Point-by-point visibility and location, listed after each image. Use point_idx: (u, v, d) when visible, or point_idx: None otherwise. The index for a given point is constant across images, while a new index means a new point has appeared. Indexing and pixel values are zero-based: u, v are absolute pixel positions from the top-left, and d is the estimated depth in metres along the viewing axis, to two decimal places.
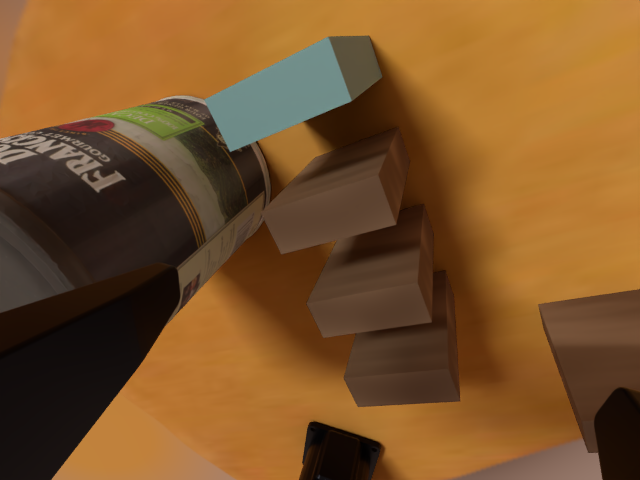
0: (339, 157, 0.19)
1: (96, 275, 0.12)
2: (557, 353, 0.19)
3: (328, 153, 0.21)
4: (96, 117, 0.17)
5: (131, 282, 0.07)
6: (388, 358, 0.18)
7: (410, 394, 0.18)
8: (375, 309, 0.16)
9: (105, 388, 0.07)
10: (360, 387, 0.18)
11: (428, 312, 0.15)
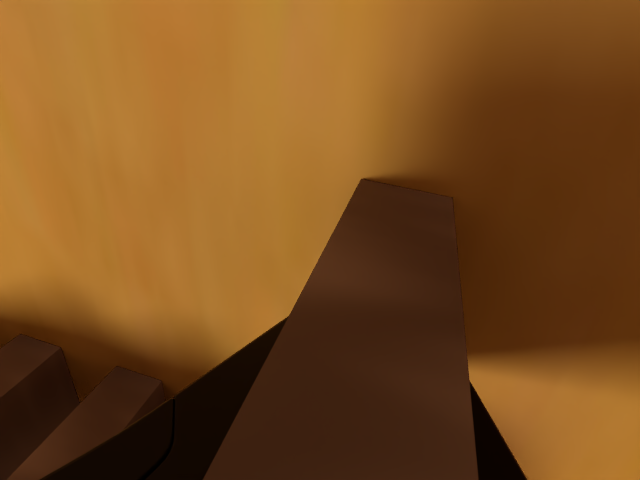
0: None
1: None
2: None
3: None
4: None
5: None
6: None
7: None
8: None
9: None
10: None
11: None
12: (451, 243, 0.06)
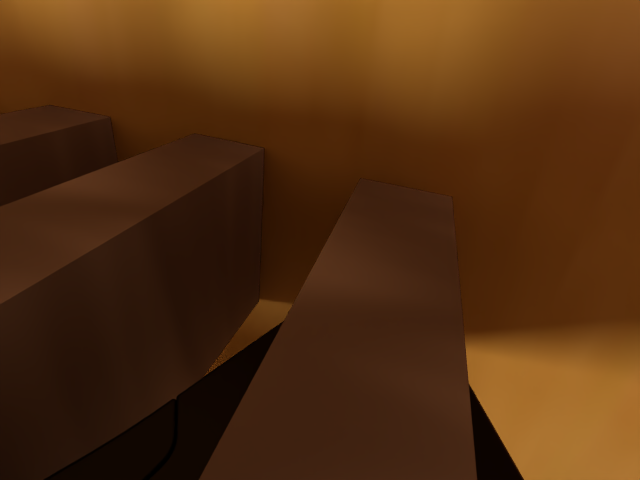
0: None
1: None
2: None
3: None
4: None
5: None
6: None
7: None
8: None
9: None
10: None
11: None
12: (450, 242, 0.06)
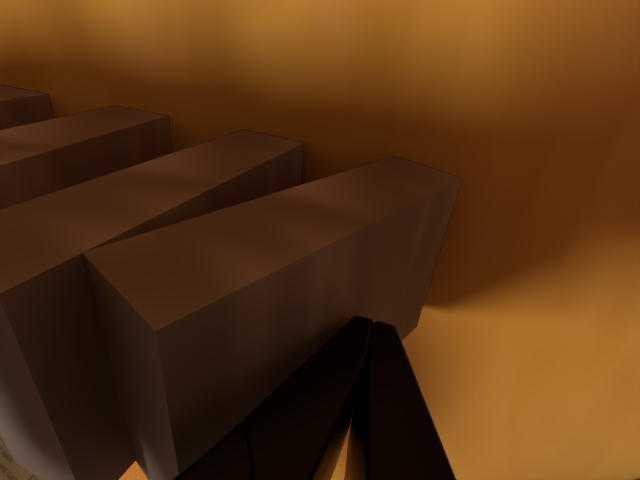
0: None
1: None
2: None
3: None
4: None
5: (354, 345, 0.06)
6: None
7: (15, 391, 0.05)
8: None
9: (333, 467, 0.06)
10: (29, 459, 0.07)
11: None
12: (417, 197, 0.08)
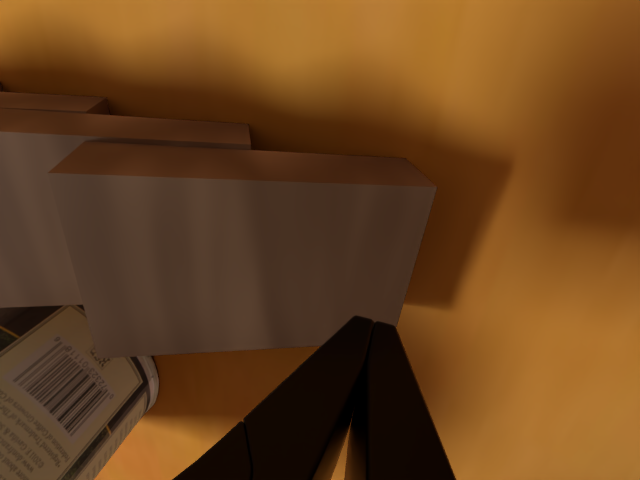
0: None
1: None
2: None
3: None
4: None
5: (354, 345, 0.06)
6: None
7: None
8: None
9: (333, 467, 0.06)
10: None
11: None
12: (348, 182, 0.08)
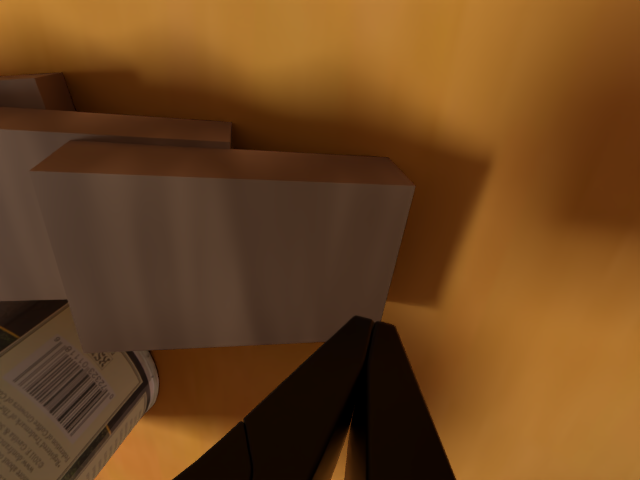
0: None
1: None
2: None
3: None
4: None
5: (354, 345, 0.06)
6: None
7: None
8: None
9: (333, 467, 0.06)
10: None
11: None
12: (326, 180, 0.08)
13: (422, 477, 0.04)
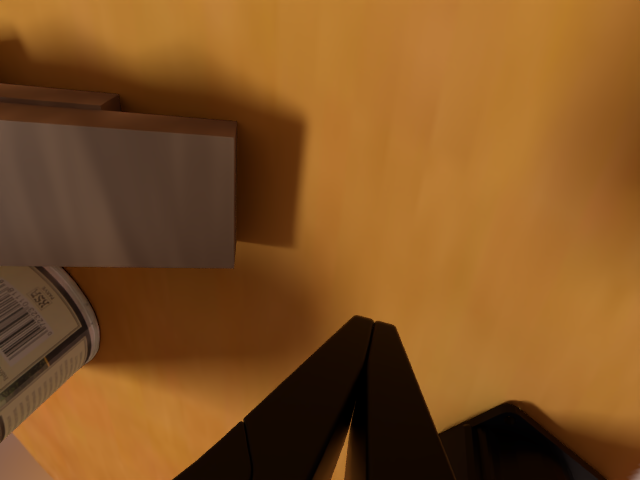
0: None
1: None
2: None
3: None
4: None
5: (354, 345, 0.06)
6: None
7: None
8: None
9: (333, 467, 0.06)
10: None
11: None
12: (162, 131, 0.11)
13: (422, 477, 0.04)
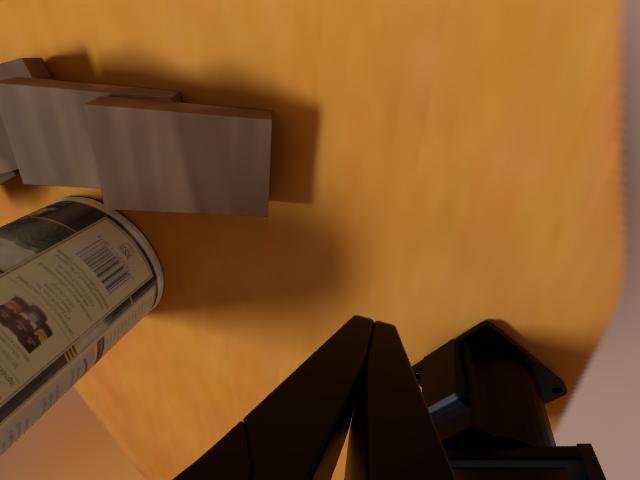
0: None
1: None
2: None
3: None
4: None
5: (354, 345, 0.06)
6: None
7: None
8: None
9: (333, 467, 0.06)
10: None
11: None
12: (224, 115, 0.17)
13: (422, 477, 0.04)
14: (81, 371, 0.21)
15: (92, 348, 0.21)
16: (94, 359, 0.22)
